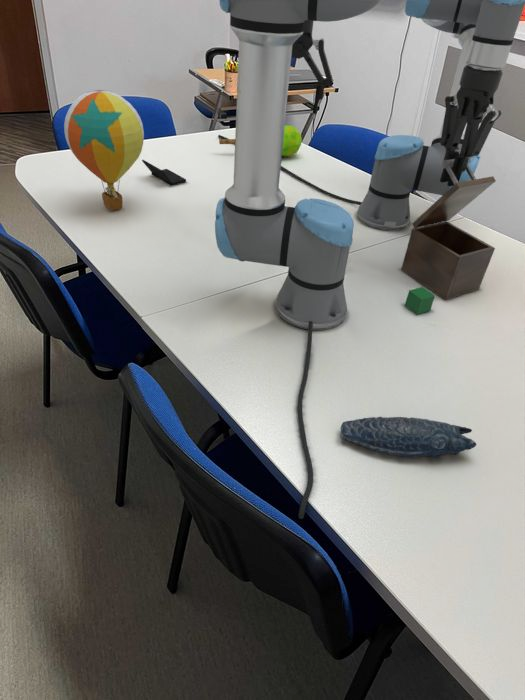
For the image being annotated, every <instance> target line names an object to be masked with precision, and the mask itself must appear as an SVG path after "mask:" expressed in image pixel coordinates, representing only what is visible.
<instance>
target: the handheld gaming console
mask: <svg viewBox="0 0 525 700" xmlns="http://www.w3.org/2000/svg"><path fill="white" fill-rule="evenodd" d="M141 161H142V163H143V164H144V165H145V167H147V169H148V170H149V171H150V172H151V174H150V175H151V176H153V177H155V178H156V179H158V180H160V181H162V182H163V183H165V184H167V185H168V186H170V187H172V186H177V185H180V184H184V183H185V184H186V183H187V179H186V178H184V177H183V176H181V175H179V174H177V173H175V172H173V171H172V170H170V169H168V168H164V169H161V168H159V167H157V166H155V165H153V164H151V163H150V162H148V161H146V160H145V159H142V160H141Z"/></svg>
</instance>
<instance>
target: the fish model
mask: <svg viewBox="0 0 525 700" xmlns="http://www.w3.org/2000/svg"><path fill="white" fill-rule="evenodd" d="M472 431H473V429H471V428H470V427H466V426H460V425H456V424H450V423H448V422H443V421H437V420H431V419H427V418H421V417H420V418H419V417H405V416H392V417H387V416H386V417H385V416H377V417H375V416H373V417H372V416H371V417H363V418H358V419H353V420H347V421H343V422H342V423H341V425H340V432H341V434H340V439H343V440H347V441H349V442H353V443H354V444H355V445H359V446H361V447H363V448H367V449H370V450H371V451H375V452H380V453H383V454H385V453H387V454H389V455H391V456H399V457H407V458H413V457H423V456H427V457H430V458H439V457H440V456H441V455H445V454H451V455H454V456H457V455H459V454H460V453H461V452H464V451H468V450H472V449H474V448H475V447H476V446H477V443H476V441H474V440H473V439H472V438H469V437H467V436H465V435H464V434H470V433H471V432H472Z"/></svg>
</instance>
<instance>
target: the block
mask: <svg viewBox="0 0 525 700" xmlns="http://www.w3.org/2000/svg"><path fill="white" fill-rule="evenodd" d="M435 297H436V294H434V293H433V292H432V291H430V290H429V289H428V288H426V287H425V286H420V287H416V288H413V289H409V290H408V292H407V296H406V299H405V302H404V306H405V307H406V308H407V309H409V310H410V311H411V312H412V313H414V314H415V315H416V316H417V315H421V314H424V313H428V312H430V311H431V310H432V306H433V304H434V301H435Z"/></svg>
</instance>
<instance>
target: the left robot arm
mask: <svg viewBox="0 0 525 700" xmlns="http://www.w3.org/2000/svg"><path fill="white" fill-rule="evenodd" d="M218 1H219V6H220V7H219V8H220V10H222V11H223V12H224V13H226V14H230V15H229V17H230V20H229V27H230V29H231V30H232V31H233V33H234V35H235V36H236V37H237V39H238V57H237V58H238V59H237V60H238V62H237V85H236V86H237V87H236V110H235V111H236V112H235V136H234V139H235V144H234V159H233V160H234V161H233V162H234V163H233V166H234V167H233V184H232V185H231V186H229V188H227V189H226V190H225V191H224V197H222V198H220V199H218V201H217V204H216V208H215V220H214V233H215V240H216V241H215V242H216V245H217V248H218V251H219V252H220V254H221V255H222V256H223V257H225V258H227V259H232V260H237V261H239V262H249V263H258V264H265V265H270V266H271V265H272V266H279V267H287V268H288V270H287V271H288V272H287V275H286V278H285V279H284V282H283V283H282V285H281V287H280V290H279V291H278V294H277V296H276V300H275V311H276V313H277V315H278V316H279V317H280V318H281V319H282V320H283V321H284V322H286V323H287V324H289V325H291V326H293V327H296V328H300V329H304V330H307V342H306V344H307V345H306V354H305V362H304V368H303V375H302V379H301V383H300V387H299V390H298V397H297V420H298V427H299V433H300V440H301V446H302V450H303V455H304V459H305V464H306V469H307V483H306V488H305V490H304V493H303V496H302V498H301V502H300V505H299V508H298V509H299V510H298V514H297V516H298V519H299V520H302V519H304V517H305V513H306V510H307V509H306V508H307V505H308V501H309V498H310V495H311V493H312V490H313V486H314V468H313V463H312V458H311V455H310V452H309V447H308V443H307V436H306V430H305V424H304V423H305V422H304V416H303V415H304V414H303V400H304V394H305V388H306V385H307V381H308V375H309V370H310V362H311V353H312V343H313V342H312V341H313V331H324V330H325V331H326V330H329V329H333V328H336V327H337V326H339V325H340V324H342V323H343V322H344V320H345V318H346V315H347V310H348V309H347V308H348V307H347V306H348V305H347V297H346V292H345V286H344V280H345V275H346V271H347V267H348V266H347V264H348V260H349V254H350V250H351V249H350V248H351V246H352V244H353V242H354V239H353V236H354V235H353V234H354V228H355V223H354V219H353V217H352V215H351V214H350V213H349V212H348V211H347V210H346V209H345V208H343V206H342V207H341V206H340V205H338V204H336V203H334V202H331V201H329V200H326V199H320V198H312V197H311V198H309V199H308V198H304V199H301V200H299V201H298V202H297V203H296V205H295V206H294V207H293V206H286V195H285V193H284V192H283V191H282V190H281V189H280V188H279V187H280V178H281V177H280V176H281V170H282V169H281V166H282V157H283V156H282V148H283V138H284V127H285V126H286V118H287V117H286V115H287V105H288V94H289V84H290V74H291V63H292V58H295V59H297V60H301V59H304V61H305V62H306V64H307V65H308V67H309V68H310V70H311V72H312V74H313V76H314V77H315V79H316V81H317V82H318V83H316V87H315V94H314V102H313V109H312V114H314V115H316V114H317V112H318V104H319V100H323V98H324V92H325V86H327V85H331V84H332V83H333V75H332V72H331V69H330V65H329V61H328V58H327V55H326V50H325V39H324V38H319V39H313V30H314V22H324V23H325V22H327V23H328V22H339V21H343V20H344V21H345V20H349V19H351V18H355V17H358V16H360V15H363V14H365V13H367V12H369V11H370V10H371V9H374V8H375V7H376V6H377V5H378V4H379V3H380V2H381V0H218ZM313 46H314V48H315V50H316V51H318V56H319V58H320V62H321V66H322V69H323V73H324V76H325V77H324V76H323V74H322V73H321V71H320V69H319V67H318V65H317V64H316V62H315V60H314V59H313V57H312V54H311V52H310V51H309V50H311V48H312V47H313Z"/></svg>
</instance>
